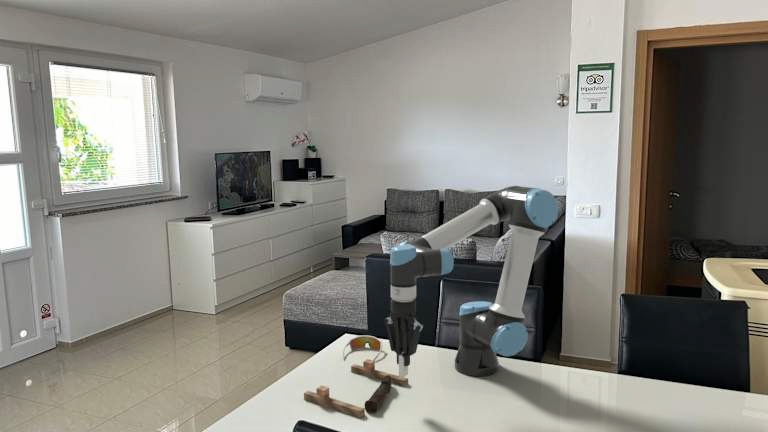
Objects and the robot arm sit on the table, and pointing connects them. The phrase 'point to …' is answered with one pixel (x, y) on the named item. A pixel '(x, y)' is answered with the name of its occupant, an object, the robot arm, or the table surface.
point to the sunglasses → (364, 343)
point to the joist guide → (325, 400)
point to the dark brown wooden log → (378, 395)
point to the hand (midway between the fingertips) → (403, 375)
